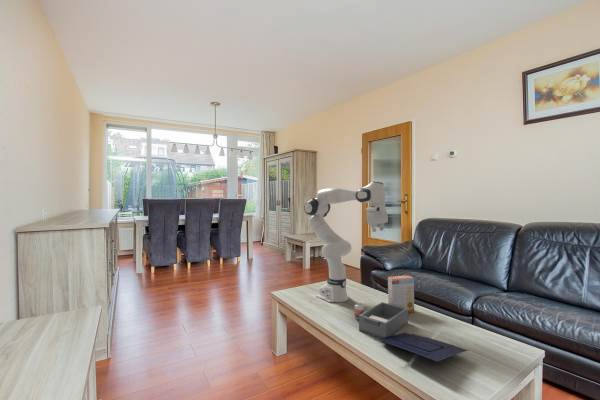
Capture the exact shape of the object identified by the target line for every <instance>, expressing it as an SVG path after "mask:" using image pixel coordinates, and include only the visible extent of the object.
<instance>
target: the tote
mask: <svg viewBox="0 0 600 400" xmlns="http://www.w3.org/2000/svg"><path fill="white" fill-rule="evenodd" d="M371 315H373V316H377V317H380V318H384V319H387V320H388V321H386V322H383V321H379V320H376V319H373V318H369V317H370V316H371ZM408 316H409V315H408V311H407V308H403V307H402V306H398V305H394V304H390V303H389V302H388V303H386V302H380V303H378V304H376V305H374V306H373V307H371V308H369V309H367V310H364V313H362V314H360V315H359V321H358V331H360V332H362V333H364V334H368V335H370V336H373V337H377V338H378V339H379V338H384V337H388V336H393V335H396V333H398V332H399V331H400V330H401V329H403V328H404V327H406V325H407V324H408Z"/></svg>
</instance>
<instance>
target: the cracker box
mask: <svg viewBox="0 0 600 400" xmlns="http://www.w3.org/2000/svg"><path fill="white" fill-rule="evenodd" d="M414 279H415V277H413V276H410V275H395V276H387V297H388V298H387V299H388V303H390V304H394V305H398V306H402V307H403V308H407V311H408V313H409V314H411V313H415V283H414V282H415V281H414Z"/></svg>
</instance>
